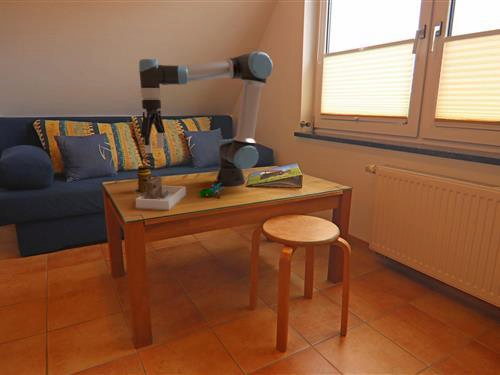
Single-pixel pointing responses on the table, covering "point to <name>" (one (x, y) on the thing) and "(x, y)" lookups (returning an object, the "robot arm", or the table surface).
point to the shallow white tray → (162, 199)
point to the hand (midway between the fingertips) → (154, 150)
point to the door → (154, 188)
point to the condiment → (143, 178)
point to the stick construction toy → (211, 191)
